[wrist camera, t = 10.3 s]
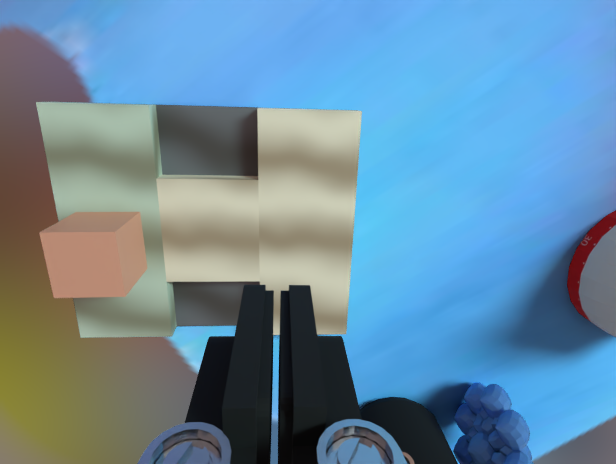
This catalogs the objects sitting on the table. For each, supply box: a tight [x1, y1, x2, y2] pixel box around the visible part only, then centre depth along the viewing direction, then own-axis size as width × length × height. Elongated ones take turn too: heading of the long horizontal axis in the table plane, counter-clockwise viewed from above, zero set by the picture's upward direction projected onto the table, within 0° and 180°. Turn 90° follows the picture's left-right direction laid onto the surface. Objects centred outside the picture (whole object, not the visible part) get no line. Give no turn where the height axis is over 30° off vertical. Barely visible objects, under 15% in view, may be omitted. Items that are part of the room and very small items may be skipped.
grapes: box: [453, 383, 534, 464], centre depth 37 cm, size 12×7×12 cm, turn 170°
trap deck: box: [36, 102, 362, 338], centre depth 33 cm, size 20×24×2 cm
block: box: [39, 212, 147, 298], centre depth 30 cm, size 5×5×5 cm
